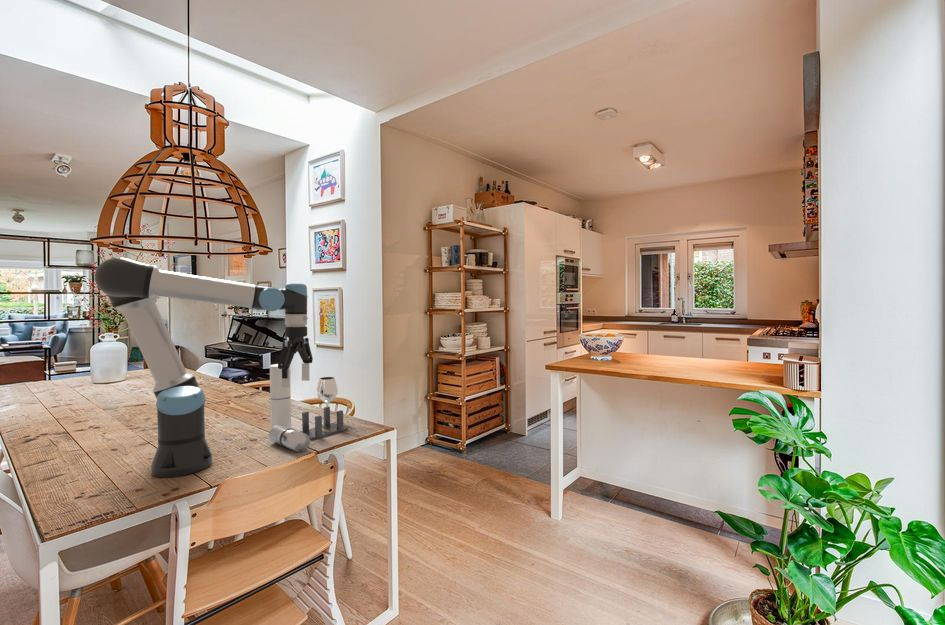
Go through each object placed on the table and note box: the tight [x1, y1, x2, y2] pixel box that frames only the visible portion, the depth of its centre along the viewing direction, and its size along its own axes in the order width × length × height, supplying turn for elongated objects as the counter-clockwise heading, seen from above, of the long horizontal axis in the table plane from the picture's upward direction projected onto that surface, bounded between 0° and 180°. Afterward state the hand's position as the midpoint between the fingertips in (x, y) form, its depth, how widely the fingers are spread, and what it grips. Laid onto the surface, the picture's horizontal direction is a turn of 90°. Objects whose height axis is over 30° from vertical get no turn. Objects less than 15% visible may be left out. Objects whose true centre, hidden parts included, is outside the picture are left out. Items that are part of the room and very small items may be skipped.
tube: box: [268, 425, 311, 453], centre depth 147 cm, size 16×6×6 cm, turn 51°
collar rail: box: [299, 406, 349, 441], centre depth 162 cm, size 15×10×8 cm, turn 141°
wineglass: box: [316, 376, 339, 425], centre depth 176 cm, size 8×8×18 cm
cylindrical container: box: [269, 363, 292, 430], centre depth 166 cm, size 7×7×25 cm
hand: (296, 383), depth 158 cm, fingers open, 13 cm apart
